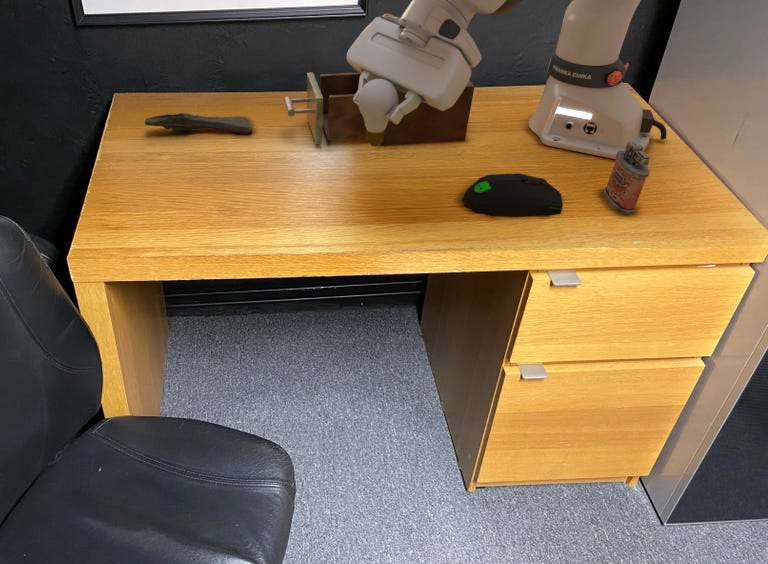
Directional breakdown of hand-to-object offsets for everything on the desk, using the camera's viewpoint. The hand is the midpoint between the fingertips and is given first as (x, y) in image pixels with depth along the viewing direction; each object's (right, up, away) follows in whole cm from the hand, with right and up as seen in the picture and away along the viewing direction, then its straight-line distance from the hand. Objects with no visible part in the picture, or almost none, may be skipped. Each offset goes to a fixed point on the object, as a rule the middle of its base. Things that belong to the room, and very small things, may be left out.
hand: (374, 112), depth 103 cm
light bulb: (+1, -4, +4) cm, 6 cm away
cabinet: (+12, +10, +36) cm, 39 cm away
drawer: (-3, +9, +34) cm, 35 cm away
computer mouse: (+25, -9, +16) cm, 31 cm away
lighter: (+43, -10, +14) cm, 47 cm away
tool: (-30, +10, +36) cm, 48 cm away
